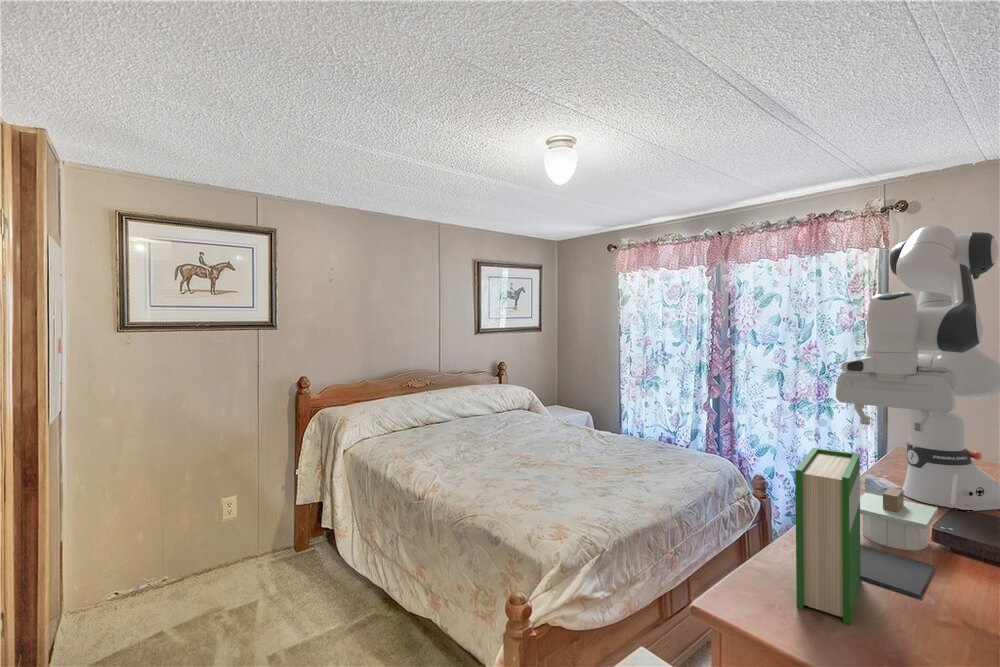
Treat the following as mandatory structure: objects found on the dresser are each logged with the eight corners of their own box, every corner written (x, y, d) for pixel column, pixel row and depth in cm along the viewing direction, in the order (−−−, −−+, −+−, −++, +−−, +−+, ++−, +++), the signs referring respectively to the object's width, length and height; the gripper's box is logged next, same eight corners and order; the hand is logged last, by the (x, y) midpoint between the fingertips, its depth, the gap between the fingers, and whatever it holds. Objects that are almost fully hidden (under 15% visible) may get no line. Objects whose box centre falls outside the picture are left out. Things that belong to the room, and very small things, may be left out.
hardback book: (850, 625, 76) (849, 478, 76) (796, 608, 81) (795, 469, 81) (860, 579, 89) (859, 453, 89) (814, 567, 94) (812, 447, 94)
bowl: (901, 528, 111) (901, 502, 111) (940, 550, 100) (940, 522, 100) (851, 527, 112) (851, 502, 112) (884, 549, 101) (884, 521, 101)
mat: (843, 542, 104) (843, 539, 104) (934, 568, 93) (934, 565, 93) (820, 565, 95) (820, 562, 95) (919, 598, 83) (919, 594, 83)
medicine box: (904, 524, 113) (903, 488, 113) (882, 523, 114) (882, 487, 113) (884, 511, 121) (884, 477, 120) (864, 510, 121) (864, 476, 121)
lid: (865, 496, 115) (865, 478, 115) (937, 512, 105) (937, 492, 105) (849, 511, 106) (849, 491, 106) (926, 529, 96) (926, 507, 96)
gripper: (958, 367, 99) (958, 433, 99) (841, 362, 115) (841, 419, 115) (954, 368, 95) (953, 437, 95) (833, 363, 111) (833, 422, 111)
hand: (891, 427), depth 105 cm, fingers open, 8 cm apart
